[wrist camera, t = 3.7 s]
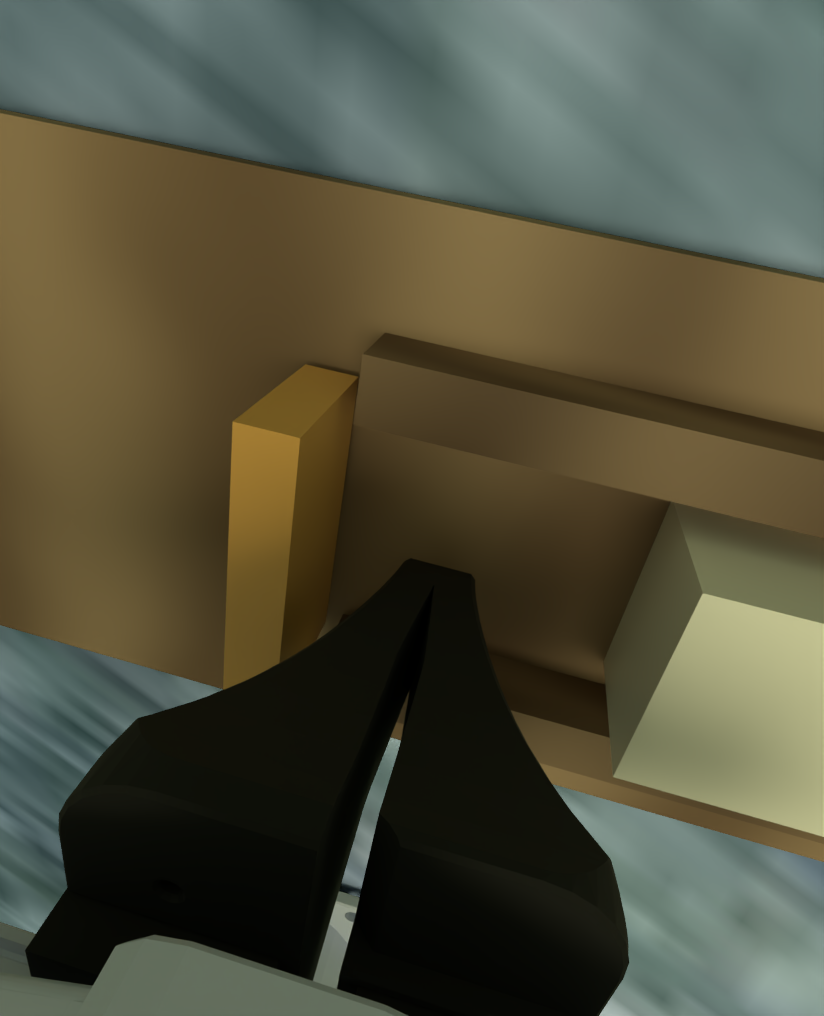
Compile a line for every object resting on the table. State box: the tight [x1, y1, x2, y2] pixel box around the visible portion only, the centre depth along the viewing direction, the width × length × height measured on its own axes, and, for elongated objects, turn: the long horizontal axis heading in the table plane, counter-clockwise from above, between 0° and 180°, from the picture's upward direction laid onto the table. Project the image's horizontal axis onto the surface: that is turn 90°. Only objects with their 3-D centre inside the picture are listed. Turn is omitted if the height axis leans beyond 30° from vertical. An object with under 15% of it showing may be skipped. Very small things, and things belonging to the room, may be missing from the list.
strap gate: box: [223, 364, 359, 690], centre depth 12 cm, size 1×6×3 cm, turn 170°
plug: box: [604, 502, 824, 837], centre depth 11 cm, size 6×4×3 cm, turn 79°
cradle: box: [0, 109, 824, 862], centre depth 13 cm, size 30×12×2 cm, turn 79°
